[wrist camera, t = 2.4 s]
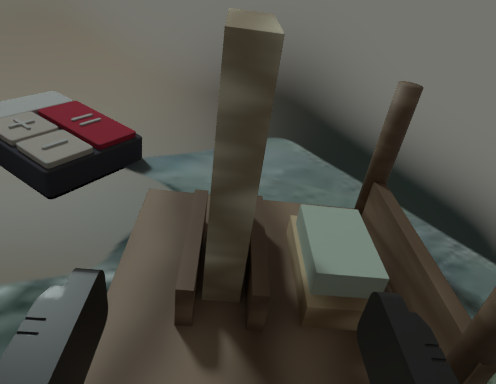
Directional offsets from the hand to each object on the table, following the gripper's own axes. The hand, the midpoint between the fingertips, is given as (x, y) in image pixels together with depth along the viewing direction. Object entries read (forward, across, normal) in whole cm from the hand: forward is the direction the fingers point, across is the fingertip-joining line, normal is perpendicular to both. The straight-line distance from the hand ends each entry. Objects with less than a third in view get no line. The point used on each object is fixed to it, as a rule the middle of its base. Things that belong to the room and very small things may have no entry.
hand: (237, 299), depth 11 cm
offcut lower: (+11, -7, +10) cm, 17 cm away
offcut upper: (+11, -7, +8) cm, 16 cm away
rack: (+11, -3, +11) cm, 16 cm away
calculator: (+28, +19, +12) cm, 36 cm away
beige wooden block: (+11, 0, +10) cm, 15 cm away
